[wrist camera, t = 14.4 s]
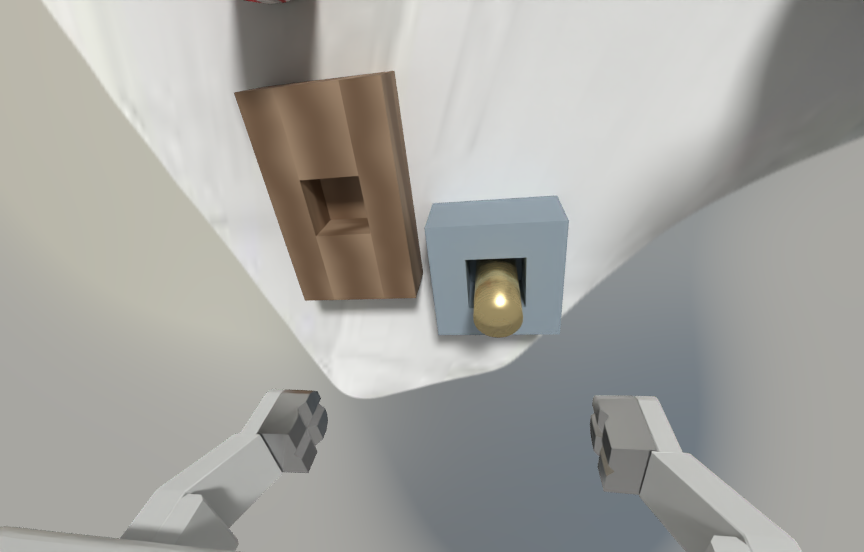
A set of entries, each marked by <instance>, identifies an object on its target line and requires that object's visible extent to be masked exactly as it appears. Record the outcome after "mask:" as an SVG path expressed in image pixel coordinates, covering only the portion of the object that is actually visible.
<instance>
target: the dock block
mask: <svg viewBox="0 0 864 552" xmlns="http://www.w3.org/2000/svg"><path fill="white" fill-rule="evenodd" d="M568 224H569V220H568V218H567V216H566V214H565V211H564V209H563V207H562V205H561V203H560V201H559V199H558V197H557V196H544V197H528V198H512V199H497V200H481V201H465V202H449V203H434V204H433V205H432V208H431V211H430V214H429V217H428V220H427V223H426V226H425V235H426V242H427V250H428V258H429V265H430V273H431V281H432V288H433V296H434V303H435V311H436V319H437V326H438V334H439V335H485V334H483V333H482V332H480V331H479V330H478V329H477V327H476V326H475V324H474V320H473V314H474V294H475V274H476V259H501V258H516V265H517V273H518V281H519V289H520V296H521V304H522V312H523V323H522V325H521V327H520V328H519V329H518V331H516V332H515V333H514V334H512V335H519V334H560V325H561V312H562V300H563V287H564V274H565V262H566V249H567V237H568Z"/></svg>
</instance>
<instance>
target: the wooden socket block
mask: <svg viewBox="0 0 864 552" xmlns="http://www.w3.org/2000/svg"><path fill="white" fill-rule="evenodd" d="M234 94H235V97H236V100H237V103H238V106H239V109H240V112H241V115H242V118H243V121H244V123H245V126H246V129H247V132H248V135H249V138H250V141H251V144H252V147H253V150H254V153H255V156H256V159H257V162H258V164H259V167H260V170H261V173H262V176H263V179H264V182H265V185H266V188H267V191H268V194H269V197H270V200H271V202H272V205H273V208H274V211H275V214H276V217H277V220H278V223H279V226H280V229H281V232H282V235H283V238H284V240H285V243H286V246H287V249H288V252H289V255H290V258H291V261H292V264H293V267H294V270H295V273H296V276H297V278H298V281H299V284H300V287H301V290H302V293H303V296H304V299H305V301H307V300H350V299H393V298H416V296H417V293H418V289H419V285H420V282H421V278H422V275H423V269H422V262H421V255H420V248H419V241H418V234H417V227H416V220H415V213H414V206H413V199H412V192H411V185H410V178H409V171H408V164H407V157H406V149H405V142H404V135H403V128H402V121H401V114H400V107H399V100H398V93H397V86H396V79H395V72H394V71H389V72H381V73H373V74H365V75H357V76H348V77H340V78H332V79H324V80H316V81H308V82H300V83H291V84H283V85H275V86H267V87H261V88H256V89H251V90H245V91H240V92H235V93H234Z"/></svg>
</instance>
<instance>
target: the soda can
mask: <svg viewBox="0 0 864 552" xmlns="http://www.w3.org/2000/svg"><path fill="white" fill-rule="evenodd" d="M246 1H252V2H259V3H265V4H272V3H284V2H288V1H290V0H246Z"/></svg>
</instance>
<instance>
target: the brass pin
mask: <svg viewBox="0 0 864 552" xmlns="http://www.w3.org/2000/svg"><path fill="white" fill-rule="evenodd" d="M473 320H474V324H475V326H476V327H477V329H478V330H479V331H480V332H482V333H483V334H485V335H487V336H490V337H497V338H500V337H506V336H509V335H512V334H514V333H515V332H516V331H518V329H519V328H520V327H521V325H522V323H523V312H522V304H521V296H520V289H519V281H518V273H517V265H516V258H501V259H476V274H475V294H474V314H473Z"/></svg>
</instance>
